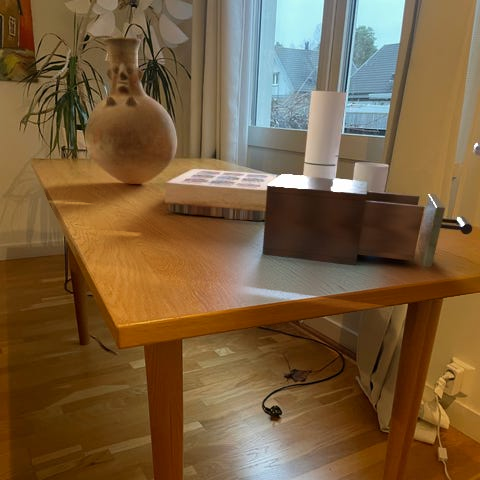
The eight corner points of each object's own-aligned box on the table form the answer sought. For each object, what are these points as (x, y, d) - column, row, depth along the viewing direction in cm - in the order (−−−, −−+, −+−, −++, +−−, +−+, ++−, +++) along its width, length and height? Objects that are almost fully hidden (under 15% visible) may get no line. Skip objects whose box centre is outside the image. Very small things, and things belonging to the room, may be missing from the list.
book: (183, 192, 126) (151, 212, 100) (184, 166, 123) (151, 181, 98) (276, 199, 123) (267, 222, 98) (278, 173, 121) (270, 190, 95)
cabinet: (358, 244, 86) (368, 181, 81) (355, 265, 75) (366, 194, 70) (276, 235, 89) (281, 174, 84) (262, 254, 78) (267, 185, 73)
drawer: (455, 250, 82) (468, 197, 78) (466, 271, 71) (482, 211, 67) (345, 238, 86) (352, 186, 82) (340, 256, 75) (348, 198, 71)
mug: (377, 228, 98) (388, 167, 93) (344, 224, 100) (353, 164, 95) (381, 218, 106) (390, 162, 101) (351, 214, 108) (359, 159, 103)
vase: (104, 175, 143) (94, 41, 128) (183, 179, 143) (182, 45, 128) (76, 188, 122) (60, 29, 107) (169, 193, 121) (167, 34, 106)
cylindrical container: (335, 212, 110) (351, 93, 100) (323, 217, 104) (339, 91, 94) (306, 207, 113) (319, 91, 103) (294, 212, 108) (306, 90, 97)
